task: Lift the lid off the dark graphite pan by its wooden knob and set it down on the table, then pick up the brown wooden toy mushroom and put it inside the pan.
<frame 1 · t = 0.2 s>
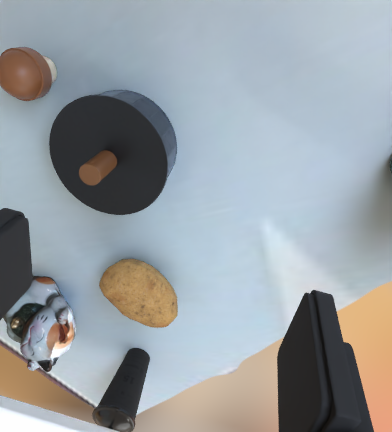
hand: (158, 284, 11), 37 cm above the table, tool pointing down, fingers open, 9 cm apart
drinking cup: (139, 355, 72), on the table
mushroom: (44, 70, 47), on the table
pan: (127, 143, 50), on the table
lucky cat figurine: (54, 299, 69), on the table
pan lid: (108, 158, 44), point 6 cm above the table, touching pan
potato: (149, 276, 61), on the table
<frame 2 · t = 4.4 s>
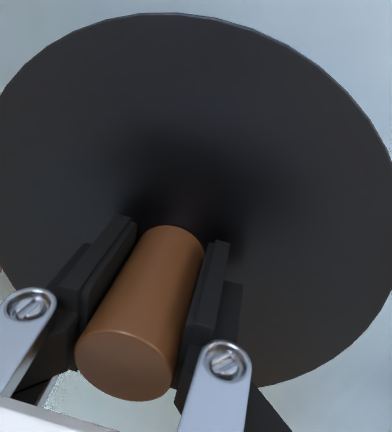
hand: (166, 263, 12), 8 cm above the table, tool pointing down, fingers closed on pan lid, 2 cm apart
pan lid: (174, 247, 13), point 7 cm above the table, touching gripper, pan
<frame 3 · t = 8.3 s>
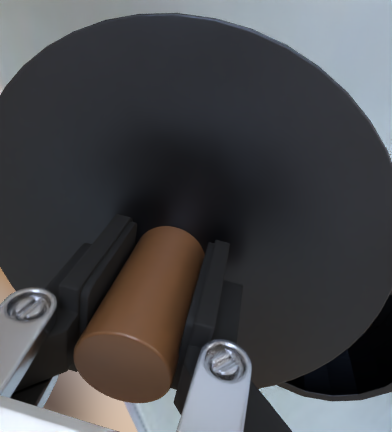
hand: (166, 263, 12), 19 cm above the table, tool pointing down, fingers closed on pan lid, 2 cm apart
pan: (322, 292, 34), on the table
pan lid: (174, 248, 13), point 18 cm above the table, touching gripper
when the fingers open (2 cm above the table, at t = 12.2 s): pan lid stays where it is, point 1 cm above the table.
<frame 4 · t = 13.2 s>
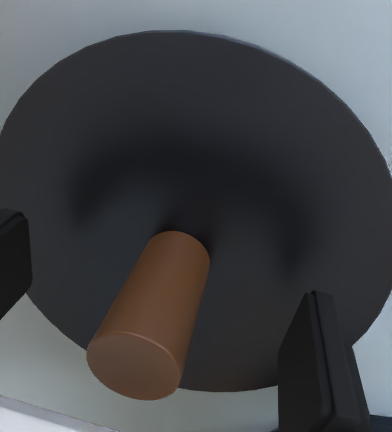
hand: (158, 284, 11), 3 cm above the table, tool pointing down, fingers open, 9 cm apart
pan lid: (179, 252, 14), point 1 cm above the table
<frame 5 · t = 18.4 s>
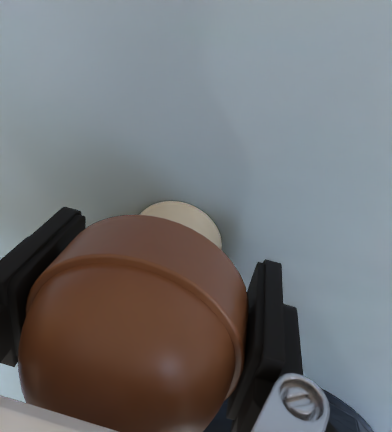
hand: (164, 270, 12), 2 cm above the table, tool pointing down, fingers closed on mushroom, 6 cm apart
mushroom: (176, 241, 14), on the table, touching gripper
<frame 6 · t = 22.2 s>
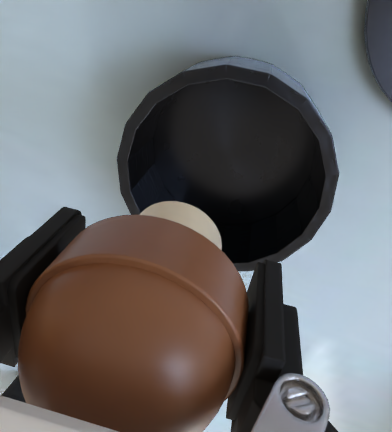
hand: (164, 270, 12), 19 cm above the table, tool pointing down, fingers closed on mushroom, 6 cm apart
drinking cup: (36, 379, 51), on the table
mushroom: (176, 241, 14), point 17 cm above the table, touching gripper
pan: (231, 153, 29), on the table
when the fingers open (3 cm above the table, at t = 26.9 s): mushroom stays where it is, resting on pan.
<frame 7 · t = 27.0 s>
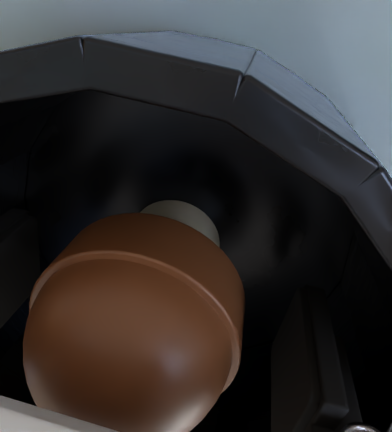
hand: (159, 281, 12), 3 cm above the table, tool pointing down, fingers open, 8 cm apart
mushroom: (175, 239, 14), resting on pan
pan: (180, 232, 14), on the table
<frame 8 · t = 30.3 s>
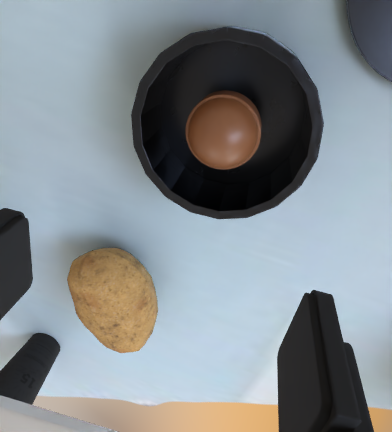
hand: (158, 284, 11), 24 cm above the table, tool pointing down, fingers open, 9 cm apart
drinking cup: (46, 343, 54), on the table
mushroom: (229, 118, 32), resting on pan
pan: (230, 116, 32), on the table
potato: (129, 275, 44), on the table
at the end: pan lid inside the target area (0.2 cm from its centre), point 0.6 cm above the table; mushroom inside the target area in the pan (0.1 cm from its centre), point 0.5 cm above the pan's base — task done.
